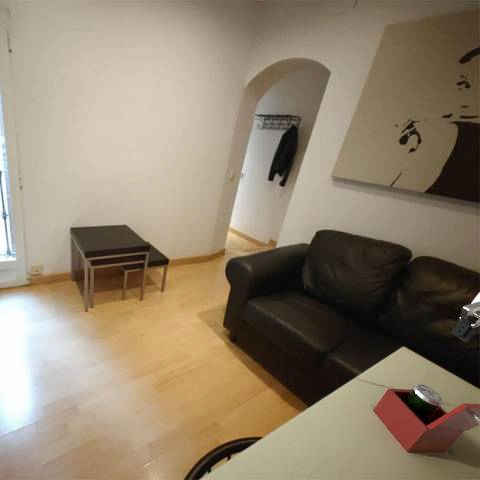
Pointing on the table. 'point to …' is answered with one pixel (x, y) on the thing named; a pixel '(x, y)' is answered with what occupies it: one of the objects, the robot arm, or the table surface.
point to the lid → (458, 418)
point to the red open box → (412, 424)
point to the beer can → (423, 402)
